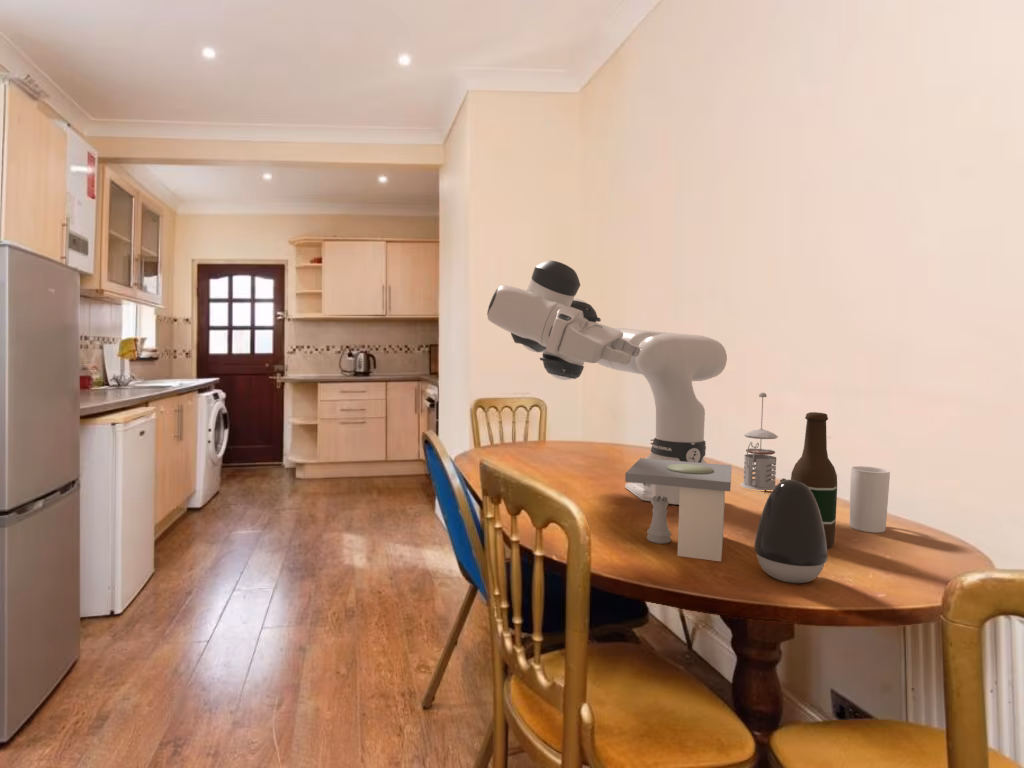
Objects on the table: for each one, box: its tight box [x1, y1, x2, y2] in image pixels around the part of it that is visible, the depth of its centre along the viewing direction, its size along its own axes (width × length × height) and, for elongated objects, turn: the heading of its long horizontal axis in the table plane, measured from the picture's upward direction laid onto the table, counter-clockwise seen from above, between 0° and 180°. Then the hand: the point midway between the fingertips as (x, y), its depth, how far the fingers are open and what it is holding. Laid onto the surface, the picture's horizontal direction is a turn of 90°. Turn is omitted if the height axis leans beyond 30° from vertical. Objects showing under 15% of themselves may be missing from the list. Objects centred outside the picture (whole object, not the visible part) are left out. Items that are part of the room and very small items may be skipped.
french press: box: [739, 392, 779, 490], centre depth 158 cm, size 10×12×25 cm
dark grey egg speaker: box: [753, 478, 828, 584], centre depth 93 cm, size 10×10×15 cm
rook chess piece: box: [646, 496, 672, 545], centre depth 111 cm, size 4×4×8 cm
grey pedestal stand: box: [624, 457, 733, 562], centre depth 109 cm, size 17×17×14 cm
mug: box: [849, 465, 891, 534], centre depth 123 cm, size 10×7×12 cm, turn 150°
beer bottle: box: [790, 411, 838, 550], centre depth 111 cm, size 8×8×24 cm
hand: (634, 356), depth 111 cm, fingers open, 8 cm apart
